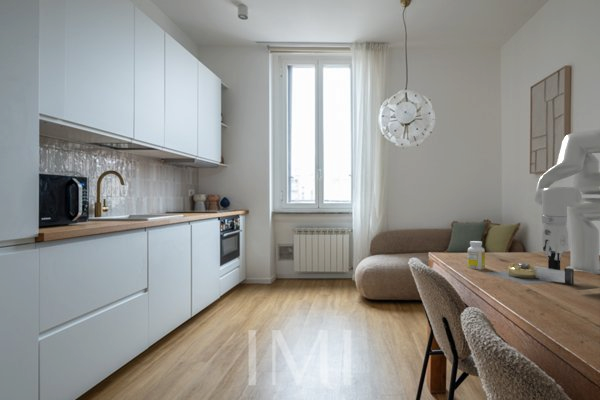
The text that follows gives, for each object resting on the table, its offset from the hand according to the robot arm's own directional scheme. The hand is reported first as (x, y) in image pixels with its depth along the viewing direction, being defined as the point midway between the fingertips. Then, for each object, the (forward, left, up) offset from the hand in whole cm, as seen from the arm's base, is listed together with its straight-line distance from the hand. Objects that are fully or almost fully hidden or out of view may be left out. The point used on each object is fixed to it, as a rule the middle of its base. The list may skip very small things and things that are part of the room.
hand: (554, 270), depth 129 cm
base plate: (+6, -8, -5) cm, 11 cm away
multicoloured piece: (+4, -2, -3) cm, 6 cm away
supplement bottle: (+11, -27, -5) cm, 29 cm away
